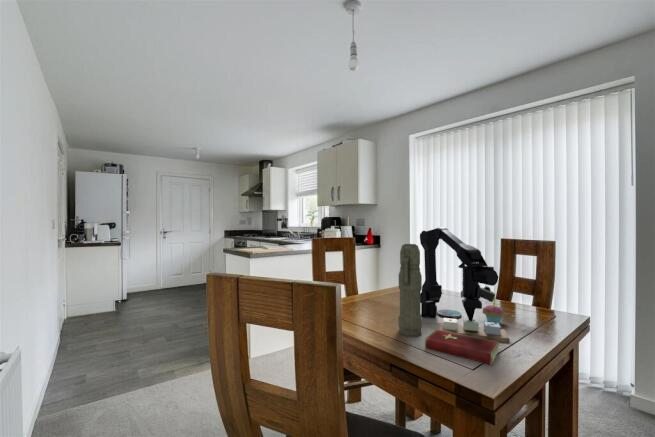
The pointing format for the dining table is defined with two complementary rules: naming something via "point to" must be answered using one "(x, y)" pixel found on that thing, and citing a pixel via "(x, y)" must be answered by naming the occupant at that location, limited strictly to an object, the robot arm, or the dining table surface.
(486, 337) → the wooden plank tray
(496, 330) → the tile three
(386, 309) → the dining table surface
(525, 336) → the dining table surface
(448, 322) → the tile one
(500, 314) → the cupcake
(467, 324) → the tile two
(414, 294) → the moai stone figurine
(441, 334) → the hardcover book
